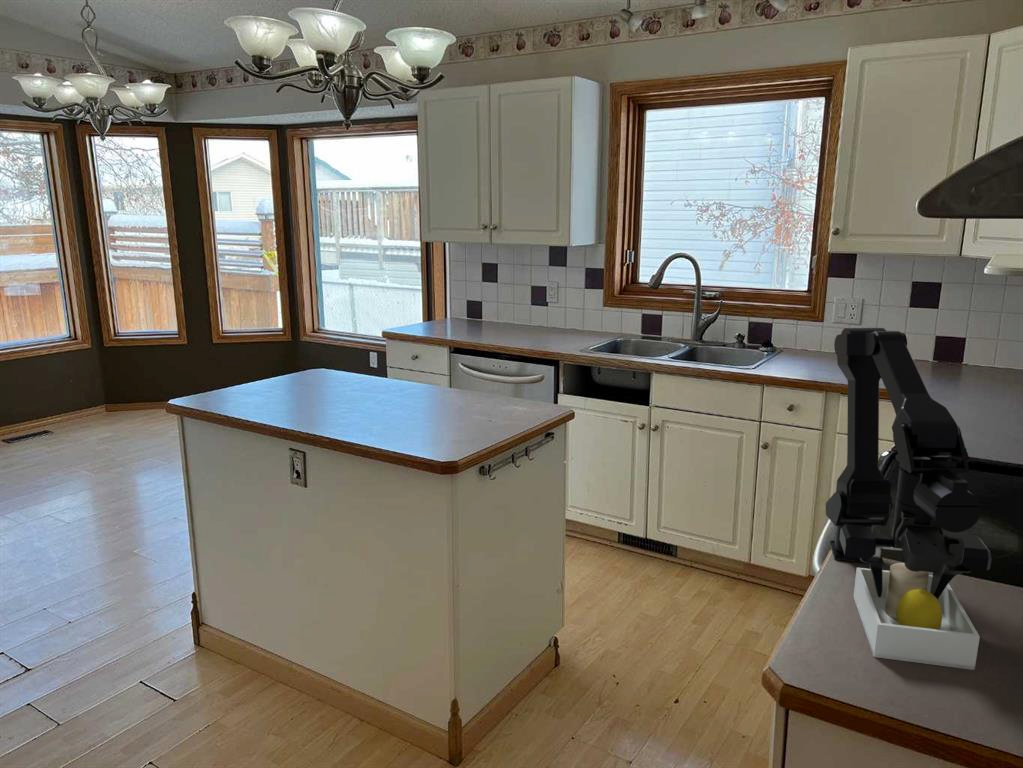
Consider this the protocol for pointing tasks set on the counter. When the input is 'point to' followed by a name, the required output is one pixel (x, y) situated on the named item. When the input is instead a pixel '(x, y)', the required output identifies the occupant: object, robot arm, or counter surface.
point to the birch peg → (902, 585)
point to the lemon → (919, 610)
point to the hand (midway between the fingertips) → (905, 598)
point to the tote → (916, 628)
